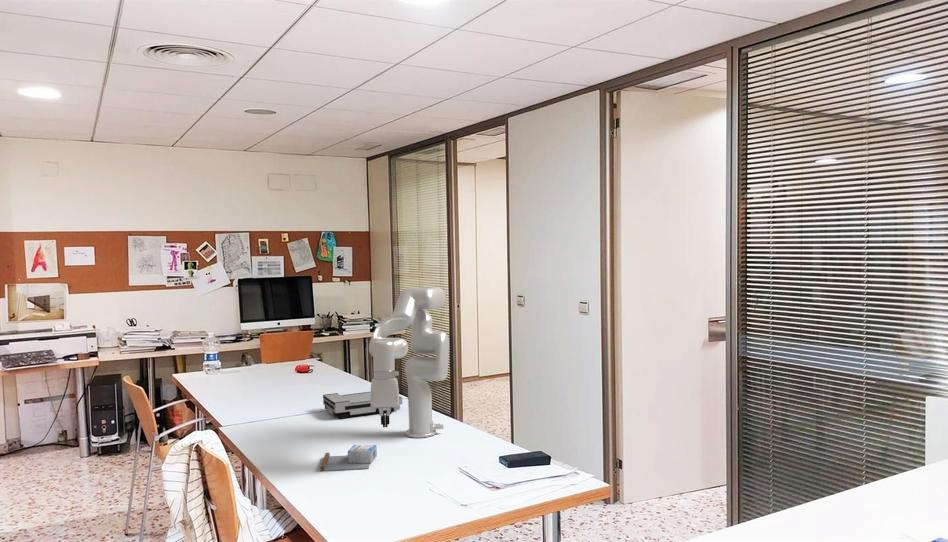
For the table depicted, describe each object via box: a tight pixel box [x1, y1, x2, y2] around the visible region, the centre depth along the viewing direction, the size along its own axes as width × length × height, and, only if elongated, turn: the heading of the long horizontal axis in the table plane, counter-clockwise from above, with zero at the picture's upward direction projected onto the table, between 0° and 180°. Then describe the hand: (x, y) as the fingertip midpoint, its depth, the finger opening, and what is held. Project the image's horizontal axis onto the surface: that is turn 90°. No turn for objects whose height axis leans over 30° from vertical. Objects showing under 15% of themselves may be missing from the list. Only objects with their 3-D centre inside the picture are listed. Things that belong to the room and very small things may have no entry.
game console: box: [322, 391, 403, 421], centre depth 320 cm, size 21×32×8 cm, turn 117°
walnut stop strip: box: [319, 452, 331, 473], centre depth 241 cm, size 1×16×2 cm, turn 6°
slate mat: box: [323, 454, 370, 472], centre depth 241 cm, size 16×16×1 cm
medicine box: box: [347, 444, 378, 464], centre depth 243 cm, size 8×4×9 cm
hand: (385, 426), depth 242 cm, fingers closed
